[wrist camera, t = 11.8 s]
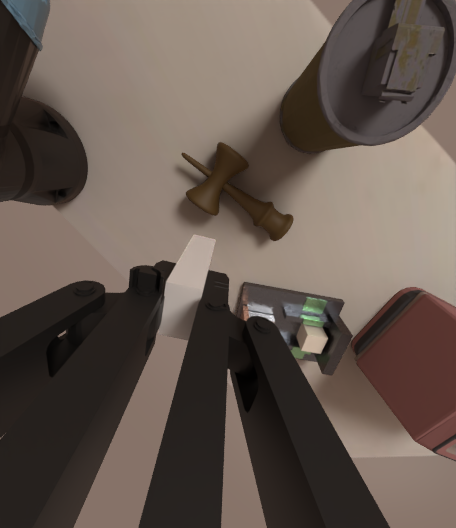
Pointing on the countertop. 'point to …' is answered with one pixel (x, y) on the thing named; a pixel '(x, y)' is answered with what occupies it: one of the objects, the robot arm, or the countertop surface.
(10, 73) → the robot arm
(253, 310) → the grey slider puzzle board
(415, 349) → the toaster
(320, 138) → the canister
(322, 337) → the cream cube block
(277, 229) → the kendama
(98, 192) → the countertop surface
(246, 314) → the two-tone wooden block
